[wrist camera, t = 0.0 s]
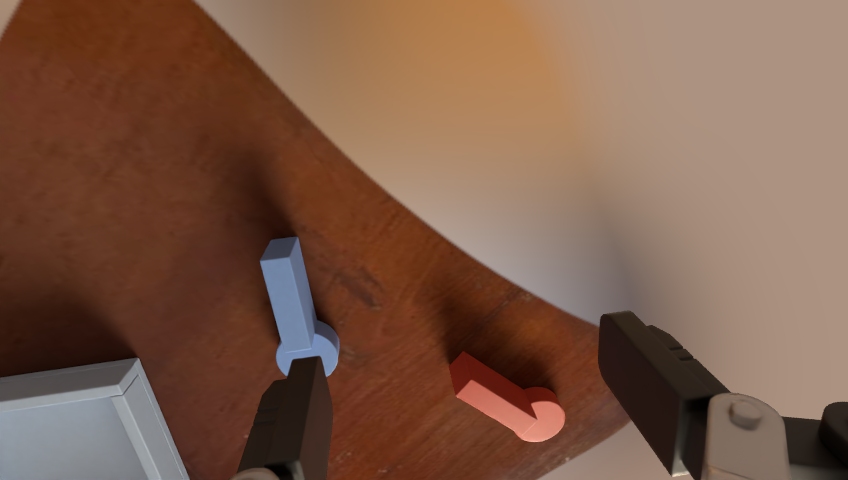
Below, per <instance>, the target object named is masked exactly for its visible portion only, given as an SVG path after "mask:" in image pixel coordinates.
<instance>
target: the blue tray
mask: <svg viewBox="0 0 848 480" xmlns="http://www.w3.org/2000/svg"><path fill="white" fill-rule="evenodd" d="M0 480H190V479H189V477H188V474H187V472H186V469H185V467H184V465H183V462H182V460H181V457H180V455H179V453H178V450H177V448H176V446H175V443H174V441H173V438H172V436H171V434H170V431H169V429H168V427H167V424H166V422H165V419H164V417H163V415H162V412H161V410H160V408H159V405H158V403H157V400H156V398H155V396H154V393H153V391H152V389H151V386H150V384H149V381H148V379H147V377H146V374H145V372H144V370H143V367H142V365H141V362H140V360H139V358H132V359H125V360H118V361H111V362H104V363H98V364H91V365H84V366H77V367H70V368H63V369H56V370H49V371H42V372H35V373H29V374H22V375H15V376H8V377H1V378H0Z"/></svg>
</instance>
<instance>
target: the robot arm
mask: <svg viewBox="0 0 848 480" xmlns="http://www.w3.org/2000/svg"><path fill="white" fill-rule="evenodd" d="M598 363H599V369H600V372H601V375H602V377H603V379H604V381H605V382H606V384H607V385H608V387H609V388H610V390H611V391H612V392H613V394H614V395H615V397H616V398H617V400H618V401H619V402H620V404H621V405H622V407H623V408H624V410H625V411H626V412H627V414H628V415H629V417H630V418H631V420H632V421H633V422H634V424H635V425H636V427H637V428H638V430H639V431H640V432H641V434H642V435H643V437H644V438H645V439H646V441H647V442H648V443H649V445H650V447H651V448H652V449H653V451H654V452H655V454H656V455H657V457H658V458H659V459H660V461H661V462H662V463H663V465H664V467H665V468H666V469H667V471H668V472H669V474H670V475H671V476H672V477H673V476H679V475H685V474H691V476H692V477H693V479H694V480H848V402H836V403H832V404H829V405H828V406H826V407H825V409H824V412H823V415H822V419H821V420H814V419H802V418H791V417H782V416H780V415H779V414H778V412H777V411H776V410H775V409H773V408H772V407H771V406H769V405H768V404H766V403H764V402H763V401H761V400H759V399H756V398H754V397H751V396H747V395H744V394H739V393H731V392H730V391H729V390H728V389H727V388H726V387H725V386H724V385H723V384H722V383H721V382H720V381H719V380H717V379H716V378H715V377H714V376H713V375H712V374H711V373H710V372H709V371H708V370H707V369H706V368H705V367H704V366H703V365H702V364H701V363H700V362H699V361H697V360H696V359H694V358H693V356H692V355H691V354H690V353H689V352H688V351H687V350H686V349H683V346H682V345H680V344H679V342H678V341H676V340H675V339H674V338H673V337H672V336H671V335H670V334H668V333H666V332H664V331H663V330H660V329H659V328H657V327H655V326H653V325H650V326H646V325H645V324H644V323H643V322H642V321H641V320H640V319H639V318H638V317H637V316H636V315H635V314H634V313H633V312H631V311H623V312H616V313H609V314H603V315H602V316H601V319H600V330H599V350H598ZM257 411H258V413H256V416H255V419H254V422H253V426H252V428H251V431H250V434H249V437H248V441H247V444H246V447H245V450H244V453H243V456H242V459H241V462H240V465H239V468H238V471H237V474H236V475H234V476H232V477H231V478H229V479H228V480H326V476H327V467H328V458H329V450H330V441H331V432H332V423H333V409H332V401H331V396H330V392H329V387H328V383H327V379H326V375H325V370H324V366H323V362H322V359H321V357H320V356H312V357H305V358H299V359H293V360H292V362H291V365H290V369H289V372H288V376H287V379H283V380H277V381H274V382H273V383H272V384H271V385H270V387H269V388H268V389H267V390H266V391H265V393H264V394H263V395H262V398H261V401H260V404H259V407H258V410H257Z"/></svg>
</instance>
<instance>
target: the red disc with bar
mask: <svg viewBox="0 0 848 480" xmlns="http://www.w3.org/2000/svg"><path fill="white" fill-rule="evenodd" d="M449 370H450V374H451V378H452V383H453V387H454V391H455V395H456V396H457V397H458V398H460V399H462V400H464V401H465V402H467V403H469V404H470V405H472V406H474V407H475V408H477V409H479V410H480V411H482V412H484V413H485V414H487V415H489V416H490V417H492V418H494V419H495V420H497V421H499V422H500V423H502V424H504V425H505V426H507V427H509V428H510V429H512V430H514V431H515V433H516V434H517V435H518V436H519V437H520V438H521V439H523V440H526V441H530V442H539V441H543V440H547V439H549V438H551V437H553V436H554V435H555V434H557V433H558V432H559V431H560V429H561V428H562V426H563V424H564V421H565V413H564V410H563V408H562V406H561V404H560V402H559V401H558V399H557V397H556V395H555V394H554V393H553V392H552V391H551V390H549V389H547V388H544V387H531V388H527V389H522V388H520V387H519V386H517V385H516V384H514V383H513V382H511V381H509V380H508V379H506V378H505V377H503V376H502V375H500V374H499V373H497V372H495V371H494V370H492V369H491V368H489V367H488V366H486V365H485V364H483V363H481V362H480V361H478V360H477V359H475V358H474V357H472V356H470V355H469V354H467V353H466V352H464V351H463V352H462V353H461V354H460V355H459V356H458V357H457V358H456V359H455V360H454V361H453V362H452V363H451V364H450V366H449Z"/></svg>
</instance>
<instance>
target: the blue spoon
mask: <svg viewBox="0 0 848 480" xmlns="http://www.w3.org/2000/svg"><path fill="white" fill-rule="evenodd" d="M260 264H261V268H262V271H263V275H264V279H265V283H266V286H267V290H268V294H269V297H270V301H271V305H272V309H273V312H274V316H275V320H276V323H277V327H278V331H279V334H280V338H281V339H280V342H279V345H278V348H277V352H276V361H277V364H278V367H279V368H280V370H281V371H282V372H283V373H284V374H285V375H286V376H288V372H289V369H290V365H291V362H292V360H293V359H299V358H305V357H312V356H320V357H321V359H322V362H323V366H324V370H325V375H326V377H327V376H328V375H330V374H331V373H332V372H333V370H334V369H335V367H336V365H337V361H338V354H339V339H338V336H337V334H336V332H335V331H334V330H333V329H332V328H331V327H330V326H329V325H327V324H325V323H323V322H321V321H317V318H316V314H315V309H314V305H313V300H312V296H311V292H310V287H309V283H308V279H307V274H306V270H305V266H304V261H303V257H302V252H301V248H300V244H299V239H298V237H289V238H282V239H274V240H271V241H270V243H269V245H268V247H267V249H266V250H265V252H264V254H263V256H262V258H261V259H260Z"/></svg>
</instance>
